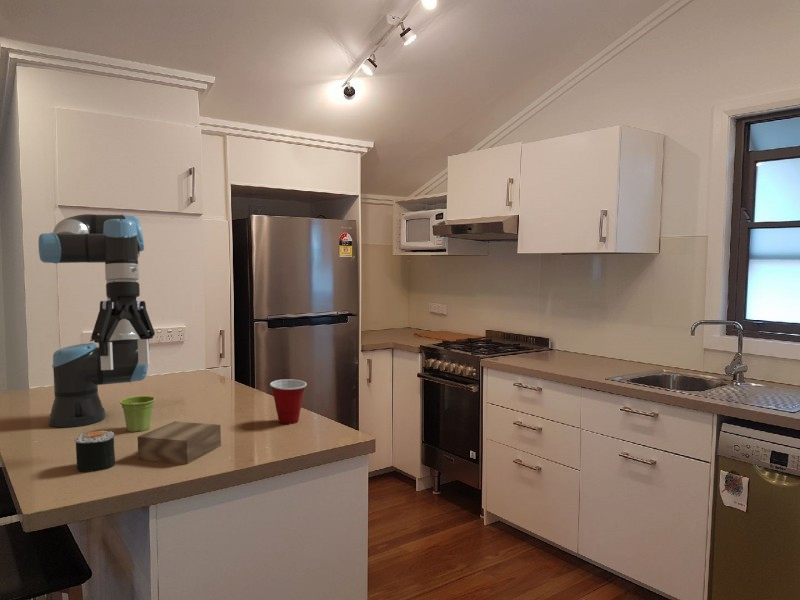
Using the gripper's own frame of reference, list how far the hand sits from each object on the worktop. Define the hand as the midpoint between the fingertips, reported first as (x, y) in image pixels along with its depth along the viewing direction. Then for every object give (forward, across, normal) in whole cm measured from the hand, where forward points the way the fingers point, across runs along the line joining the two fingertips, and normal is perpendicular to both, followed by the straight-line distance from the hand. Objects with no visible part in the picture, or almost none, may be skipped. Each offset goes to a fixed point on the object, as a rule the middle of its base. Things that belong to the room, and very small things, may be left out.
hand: (126, 367), depth 143 cm
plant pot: (+20, +23, +14) cm, 33 cm away
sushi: (+23, -7, +4) cm, 24 cm away
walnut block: (+23, +6, -10) cm, 26 cm away
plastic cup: (+21, +37, -26) cm, 50 cm away
